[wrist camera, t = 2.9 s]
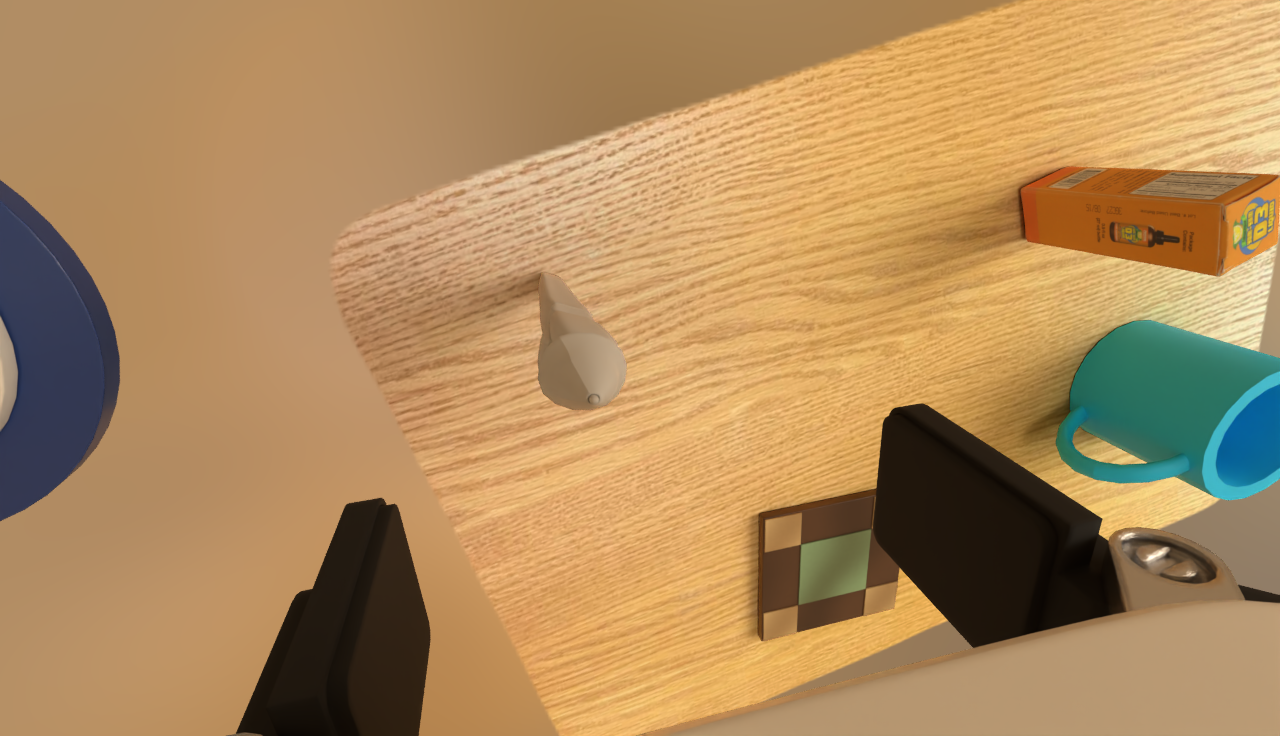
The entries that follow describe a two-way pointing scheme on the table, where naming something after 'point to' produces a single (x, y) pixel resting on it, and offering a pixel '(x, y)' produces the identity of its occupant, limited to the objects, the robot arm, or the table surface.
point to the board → (822, 566)
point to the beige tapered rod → (575, 351)
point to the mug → (1178, 410)
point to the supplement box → (1156, 215)
